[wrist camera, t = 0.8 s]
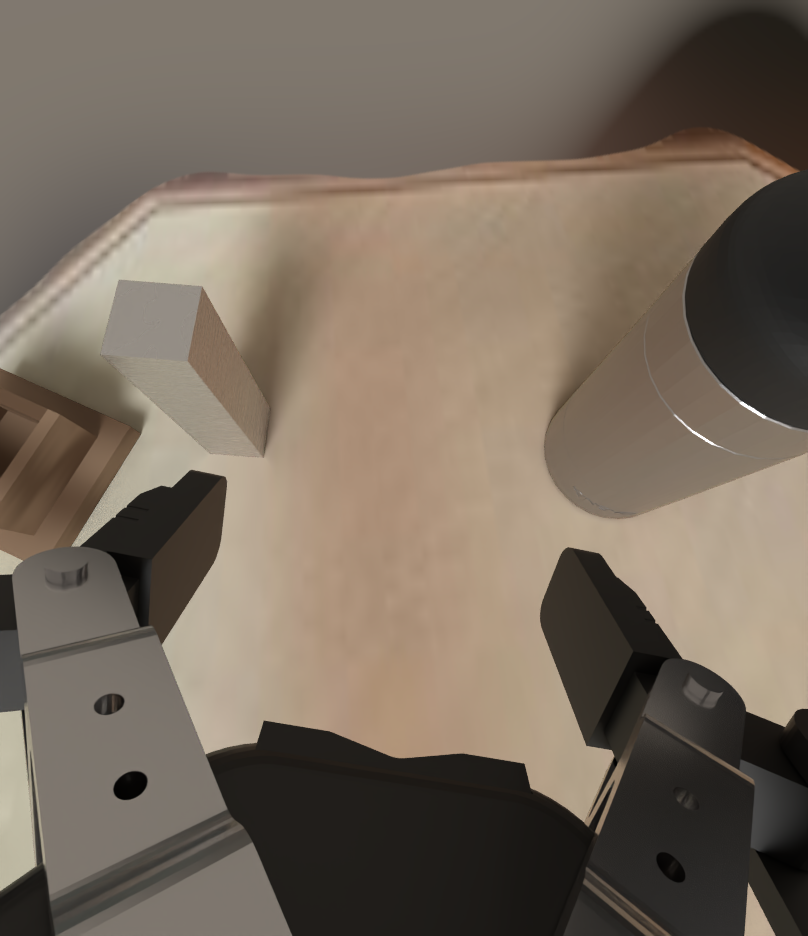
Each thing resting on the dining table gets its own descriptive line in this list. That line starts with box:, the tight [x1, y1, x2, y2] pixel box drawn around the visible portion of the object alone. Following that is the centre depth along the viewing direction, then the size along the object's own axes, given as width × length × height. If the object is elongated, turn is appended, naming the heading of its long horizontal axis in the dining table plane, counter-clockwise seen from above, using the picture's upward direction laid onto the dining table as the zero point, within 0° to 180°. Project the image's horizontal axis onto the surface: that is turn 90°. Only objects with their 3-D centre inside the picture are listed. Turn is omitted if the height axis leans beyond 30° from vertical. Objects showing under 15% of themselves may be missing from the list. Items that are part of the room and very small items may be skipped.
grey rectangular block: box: [100, 280, 270, 458], centre depth 28 cm, size 4×4×14 cm
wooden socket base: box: [0, 369, 141, 561], centre depth 31 cm, size 10×10×6 cm
